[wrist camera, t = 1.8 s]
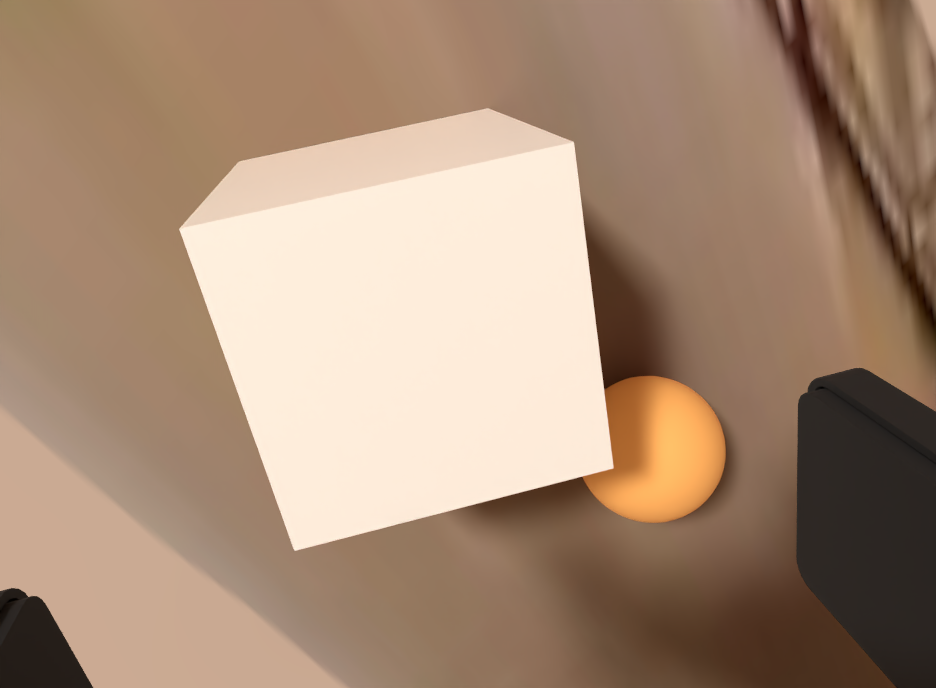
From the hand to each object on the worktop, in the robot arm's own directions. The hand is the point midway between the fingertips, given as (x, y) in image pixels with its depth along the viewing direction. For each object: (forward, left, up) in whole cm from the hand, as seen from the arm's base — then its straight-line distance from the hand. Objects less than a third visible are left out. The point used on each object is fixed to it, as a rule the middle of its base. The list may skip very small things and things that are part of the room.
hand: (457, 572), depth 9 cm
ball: (-7, +8, -13) cm, 17 cm away
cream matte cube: (0, 0, -16) cm, 16 cm away
